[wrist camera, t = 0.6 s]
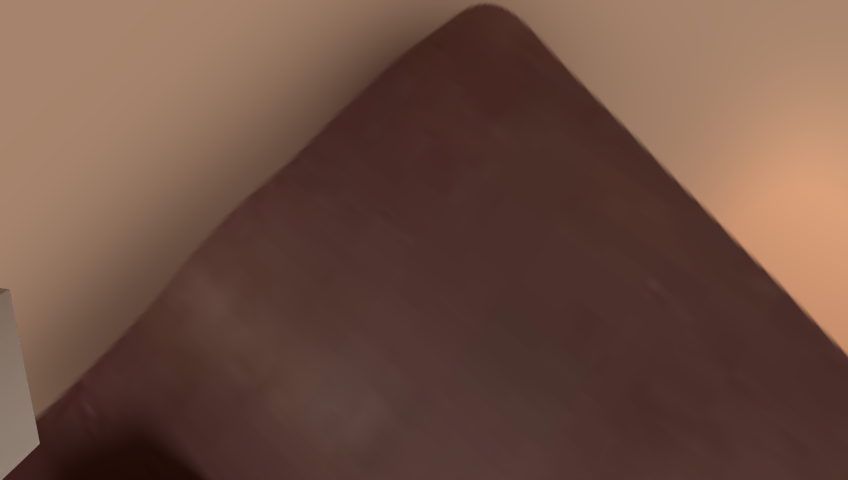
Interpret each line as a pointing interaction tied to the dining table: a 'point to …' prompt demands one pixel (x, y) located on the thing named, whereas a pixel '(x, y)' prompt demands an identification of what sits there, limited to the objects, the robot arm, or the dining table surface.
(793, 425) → the dining table surface
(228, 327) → the dining table surface
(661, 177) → the dining table surface
